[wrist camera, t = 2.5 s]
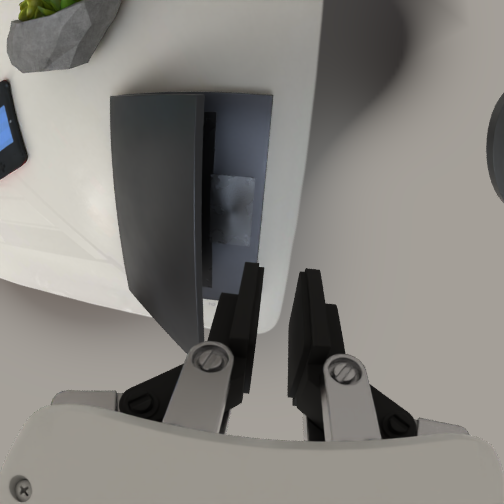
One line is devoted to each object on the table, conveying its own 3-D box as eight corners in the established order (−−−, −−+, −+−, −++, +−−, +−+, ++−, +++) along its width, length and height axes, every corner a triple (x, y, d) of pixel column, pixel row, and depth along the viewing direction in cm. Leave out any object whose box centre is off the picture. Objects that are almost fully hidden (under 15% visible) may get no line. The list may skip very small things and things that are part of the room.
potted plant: (15, 60, 23) (31, -43, 12) (104, 50, 30) (129, -49, 19) (-4, 94, 17) (11, -49, 7) (113, 78, 24) (148, -57, 14)
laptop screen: (206, 94, 18) (196, 94, 17) (206, 364, 31) (200, 368, 30) (116, 95, 27) (109, 96, 27) (133, 287, 41) (129, 289, 40)
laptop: (273, 95, 28) (272, 95, 27) (253, 297, 41) (252, 305, 40) (123, 94, 29) (116, 95, 27) (138, 281, 42) (133, 288, 41)
